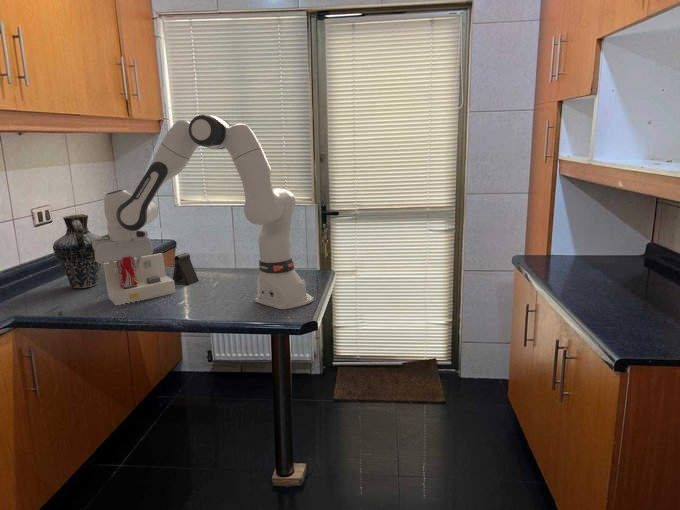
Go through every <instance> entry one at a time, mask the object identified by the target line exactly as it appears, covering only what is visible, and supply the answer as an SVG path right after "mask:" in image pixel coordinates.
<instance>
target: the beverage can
mask: <svg viewBox="0 0 680 510" xmlns="http://www.w3.org/2000/svg"><path fill="white" fill-rule="evenodd" d="M117 267H118V268H119V272H118V274H119V280H120V286H121V287H123V288H131V287H134V286H136V285H137V284H138V279H137V273H136V266H135V260H134V258H132V257H131V256H128V257H122V259H121V260H118V261H117Z"/></svg>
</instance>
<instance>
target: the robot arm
mask: <svg viewBox="0 0 680 510" xmlns="http://www.w3.org/2000/svg"><path fill="white" fill-rule="evenodd" d="M199 147H205V148H208V149H211V150H222V149H223V150H224V149H226V150H227V151H228V154H229V155H230V158H231V160H232V163H233V164H234V166H235V169H236V171H237V173H238V175H239V178H240V181H241V182H242V187H243V192H244V199H245V200H244V205H243V213H244V216H245V218H246V219H247V221H248V222H249V223H251V224H253V225H258V226H261V225H262V226H261V231H260V234H259V235H258V240H257V241H258V253H259V254H258V255H259V260H258V267H259V271H260V273H259V276H258V277H257V297H255V299H254V302H255V303H259V304H261V305H265V306H267V307H270V308H275V309H278V310H287V309H294V308H297V307H298V308H299V307H302V306H305V305H308V304H310V303H313V301H314V300H315V299H314V297H313V296H312V295H311V294H309V293H307V289H306V288H307V287H306V280H305V279H302V278H301V277H300V276H299V274H298V273H297V272H296V270H295V262H294V261H293V259H292V258H293V257H291V245H290V243H291V242H290V232H291V226H292V219H293V218H292V217H293V213H294V210H295V207H296V198H295V195H294V194H293V192H292V191H290V190H288V189H284V188H280V187H279V188H277V187H276V188H274V189H273V185H272V180H271V178H272V177H271V174H272V168H271V165H270V164H269V161H268V158H267V156H266V154H265V152H264V150H263V148H262V145H261V143H260V141H259V140H258V137H256V135H255V133H254V132H253V130H252V129H251V127H250V126H249V125H247V124H245V123H237V124H234V125H231V124H230V123H229V122H228V121H227V120H224V119H221V118H219V117H218V116H214V115H209V114H199V115H196V116H194V118H192V120H190V121H188V120H184V119H180V120H177V121H176V122H175V123H174V124H173V125H172V126H171V127H170V128H169V130H168V131H167V132H166V134H165V135H164V137H163V138H162V141H161V142H160V144H159V146H158V148H157V150H156V153H155V155H154V156H153V158H152V161H151V162H150V164H149V166H148V169H147V171H146V172H145V174H144V176H143V177H142V179H141V180H140V181H139V184H138V185H137V187H136V189H135V190H134V192H133V193H130V192H128V191H127V190H126V189H118V190H114V191H110V192H107V193H106V194H105V195H104V196H103V207H104V215H105V218H106V222H107V225H106V226H107V227H106V228H107V234H108V236H103V237H101V238H96V239H95V240H94V241H95V242H94V241H93V242H92V247H93V249H94V250H95V261H96V262H97V263H99V264H101V265H103V263H108V262H109V264H110V265H111V266H112V267H113V269H114V273H118V272H119V268H118V267H115V266H114V265H113V264H114V261H118V260H121V259H122V257H128V256H131V257H132V258H137V259H138V260H137V263H136V264H135V266H136V269H139V268H140V265H139V264H140V262H141V260H142V256H147V255H153V253H154V247H153V243H152V241H151V238H149V237H148V235H149V233H148V231H147V230H146V229H143V227H144V226H146V225H148V224H149V223H151V222H153V221H155V219H156V218H157V217H158V216H159V215H158V214H159V208H158V205H157V203H156V202H155V201H154V198H155V197H156V194H157V193H158V192H159V190H160V188H161V187H162V186H163V185H165V183H166V182H168V181H169V180H171V179H172V178H174V177H176V176H178V175H179V174H180V173H181V172H182V171H183V170H184V169H185V167H186V166H187V165H188V163H189V161H190V160H191V158H192V156H193V154H194V152H195V151H196V150H197V149H198V148H199Z"/></svg>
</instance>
